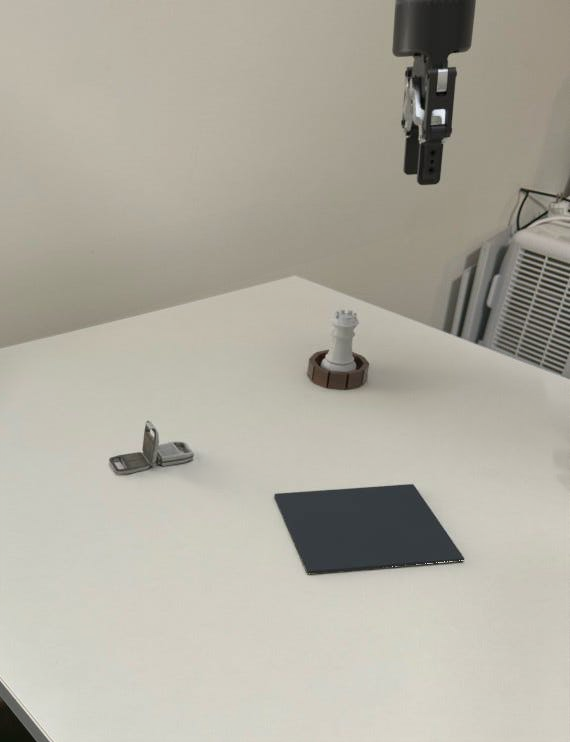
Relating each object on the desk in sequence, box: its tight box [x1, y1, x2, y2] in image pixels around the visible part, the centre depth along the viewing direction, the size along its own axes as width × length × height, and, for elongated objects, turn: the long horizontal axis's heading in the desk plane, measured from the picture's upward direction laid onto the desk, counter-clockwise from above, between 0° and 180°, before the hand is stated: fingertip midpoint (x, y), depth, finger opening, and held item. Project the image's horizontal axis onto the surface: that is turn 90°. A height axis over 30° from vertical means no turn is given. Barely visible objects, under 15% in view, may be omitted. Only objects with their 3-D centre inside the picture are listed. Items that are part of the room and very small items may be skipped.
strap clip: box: [108, 420, 195, 474], centre depth 84 cm, size 8×3×4 cm, turn 111°
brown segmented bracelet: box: [307, 349, 370, 391], centre depth 101 cm, size 7×7×2 cm
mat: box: [273, 483, 465, 575], centre depth 76 cm, size 14×12×1 cm
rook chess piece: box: [321, 309, 360, 372], centre depth 99 cm, size 4×4×8 cm
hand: (420, 179), depth 88 cm, fingers open, 8 cm apart
